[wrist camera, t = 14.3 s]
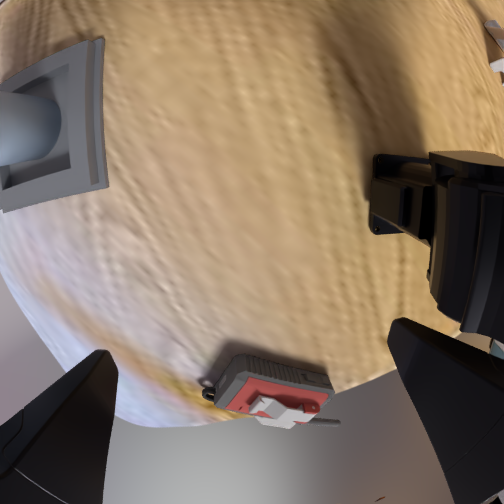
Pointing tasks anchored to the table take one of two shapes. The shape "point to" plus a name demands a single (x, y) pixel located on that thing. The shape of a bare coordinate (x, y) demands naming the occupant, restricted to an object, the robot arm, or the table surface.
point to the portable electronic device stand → (500, 35)
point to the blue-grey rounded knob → (27, 127)
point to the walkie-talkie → (272, 392)
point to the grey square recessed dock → (62, 128)
